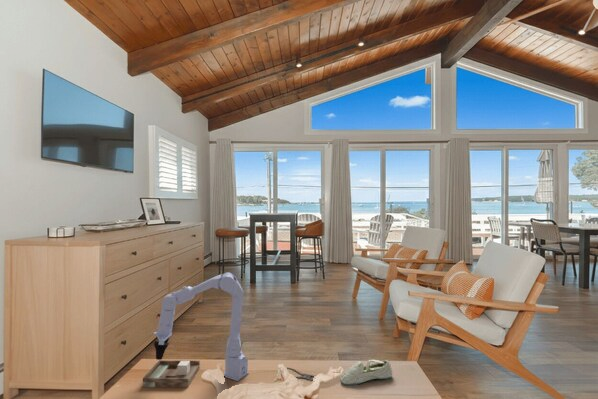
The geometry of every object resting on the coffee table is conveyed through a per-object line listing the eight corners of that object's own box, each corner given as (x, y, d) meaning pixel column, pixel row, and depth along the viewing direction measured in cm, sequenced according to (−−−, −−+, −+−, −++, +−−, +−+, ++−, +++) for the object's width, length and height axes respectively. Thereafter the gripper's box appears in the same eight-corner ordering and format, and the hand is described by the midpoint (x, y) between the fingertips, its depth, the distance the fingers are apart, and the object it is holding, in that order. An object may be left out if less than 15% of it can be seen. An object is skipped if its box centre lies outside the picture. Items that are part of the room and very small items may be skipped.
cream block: (189, 370, 144) (189, 361, 144) (186, 374, 140) (186, 365, 140) (180, 370, 144) (180, 361, 144) (177, 374, 140) (177, 365, 140)
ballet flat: (335, 377, 143) (335, 359, 143) (385, 370, 150) (385, 352, 150) (344, 388, 135) (344, 369, 135) (395, 379, 142) (395, 361, 142)
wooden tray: (199, 368, 150) (199, 360, 150) (188, 387, 134) (188, 378, 134) (158, 368, 150) (159, 360, 150) (142, 387, 134) (142, 378, 134)
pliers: (279, 366, 152) (322, 369, 149) (278, 368, 152) (322, 371, 149) (274, 377, 142) (320, 380, 139) (274, 379, 142) (320, 382, 139)
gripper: (158, 316, 147) (153, 347, 146) (153, 328, 133) (147, 362, 132) (175, 317, 148) (169, 348, 148) (171, 329, 134) (165, 363, 134)
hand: (160, 355), depth 140 cm, fingers open, 7 cm apart
